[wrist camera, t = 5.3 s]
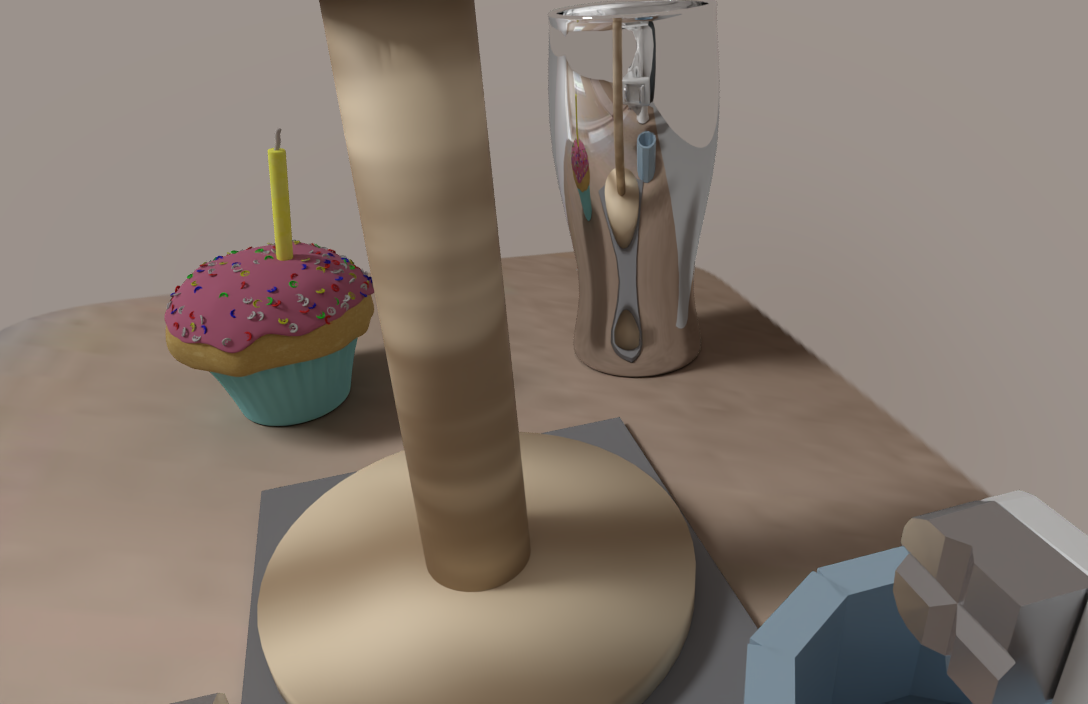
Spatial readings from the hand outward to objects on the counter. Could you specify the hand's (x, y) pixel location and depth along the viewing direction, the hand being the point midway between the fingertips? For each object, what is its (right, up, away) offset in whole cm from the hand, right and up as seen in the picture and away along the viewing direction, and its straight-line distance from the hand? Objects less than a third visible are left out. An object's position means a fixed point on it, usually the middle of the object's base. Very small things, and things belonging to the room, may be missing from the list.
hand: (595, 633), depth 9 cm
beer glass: (+4, +3, +29) cm, 29 cm away
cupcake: (-12, +1, +26) cm, 29 cm away
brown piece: (-3, -4, +15) cm, 16 cm away
